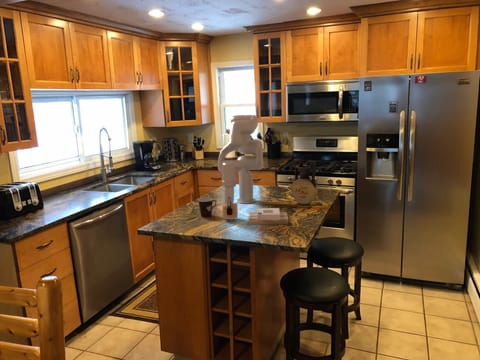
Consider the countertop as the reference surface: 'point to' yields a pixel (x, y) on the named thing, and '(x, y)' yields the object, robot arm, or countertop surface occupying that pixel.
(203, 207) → the coffee mug
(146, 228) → the countertop surface
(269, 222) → the board
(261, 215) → the socket
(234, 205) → the orange block
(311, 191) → the amphora
